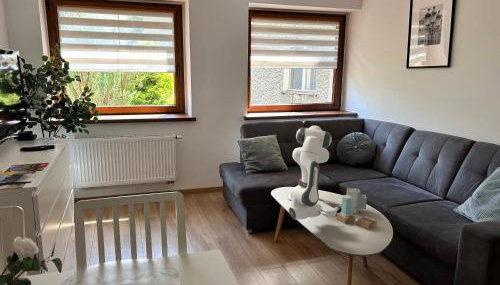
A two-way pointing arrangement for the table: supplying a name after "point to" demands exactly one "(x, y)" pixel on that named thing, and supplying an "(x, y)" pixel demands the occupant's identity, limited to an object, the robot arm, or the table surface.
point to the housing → (346, 205)
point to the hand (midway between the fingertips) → (332, 205)
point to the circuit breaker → (357, 200)
